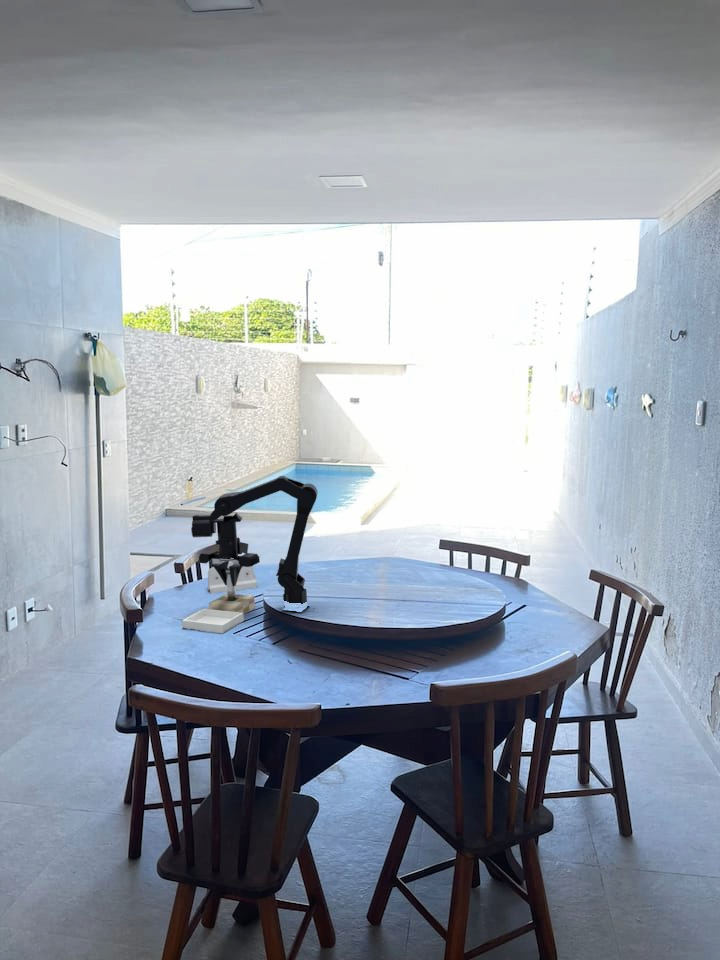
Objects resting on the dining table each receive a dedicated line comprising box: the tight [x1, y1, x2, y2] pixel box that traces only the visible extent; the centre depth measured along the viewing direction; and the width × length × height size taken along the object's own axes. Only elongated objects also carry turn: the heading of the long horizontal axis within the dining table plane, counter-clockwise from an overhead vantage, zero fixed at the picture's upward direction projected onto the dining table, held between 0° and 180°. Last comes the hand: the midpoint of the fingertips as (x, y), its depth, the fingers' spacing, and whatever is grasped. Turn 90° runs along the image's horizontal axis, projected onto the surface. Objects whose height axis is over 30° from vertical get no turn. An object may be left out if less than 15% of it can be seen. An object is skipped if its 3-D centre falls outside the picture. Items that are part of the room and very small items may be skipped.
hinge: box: [207, 561, 258, 595], centre depth 263 cm, size 17×5×10 cm, turn 110°
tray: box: [181, 608, 244, 635], centre depth 226 cm, size 14×11×2 cm
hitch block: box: [208, 592, 256, 616], centre depth 237 cm, size 10×10×4 cm
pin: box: [224, 568, 236, 601], centre depth 236 cm, size 3×3×11 cm
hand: (230, 585), depth 236 cm, fingers closed on pin, 2 cm apart
